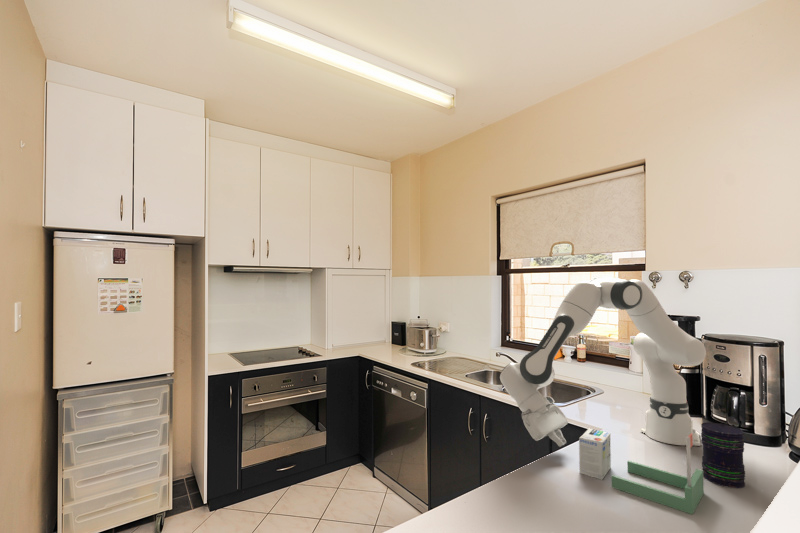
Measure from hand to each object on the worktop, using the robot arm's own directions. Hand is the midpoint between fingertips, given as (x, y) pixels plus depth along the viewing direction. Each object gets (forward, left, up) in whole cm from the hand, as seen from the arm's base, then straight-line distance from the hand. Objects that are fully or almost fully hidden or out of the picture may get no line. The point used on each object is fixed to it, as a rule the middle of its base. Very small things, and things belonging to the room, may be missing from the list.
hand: (563, 444), depth 129 cm
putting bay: (0, +26, -5) cm, 26 cm away
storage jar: (-21, +38, -5) cm, 44 cm away
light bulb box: (0, +10, -5) cm, 11 cm away
